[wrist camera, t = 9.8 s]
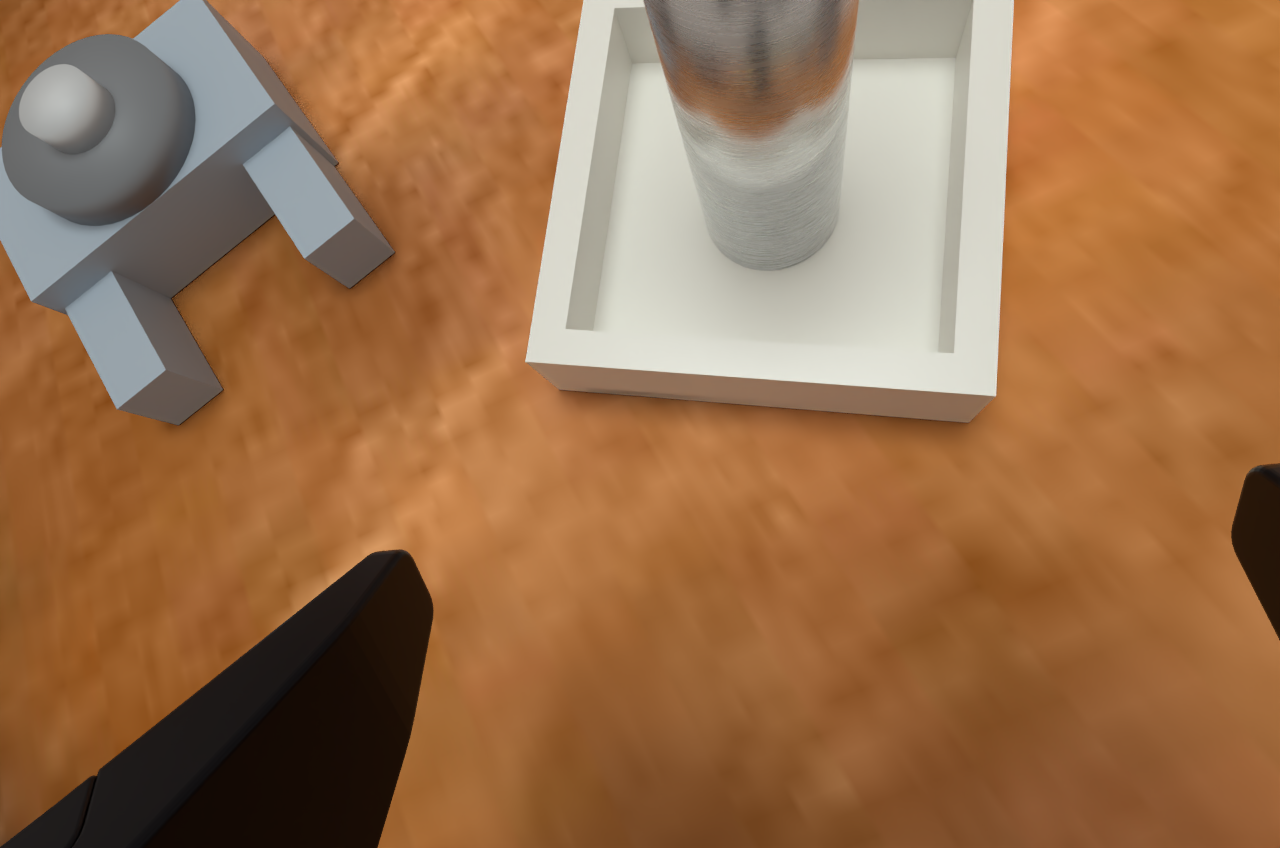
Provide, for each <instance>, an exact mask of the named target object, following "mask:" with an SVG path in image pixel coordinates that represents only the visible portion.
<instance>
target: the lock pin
mask: <svg viewBox="0 0 1280 848" xmlns="http://www.w3.org/2000/svg"><path fill="white" fill-rule="evenodd" d="M643 1H644V5H645V9H646V12H647V16H648V19H649V23H650V26H651V30H652V34H653V37H654V41H655V44H656V48H657V51H658V55H659V59H660V62H661V66H662V69H663V73H664V76H665V80H666V83H667V87H668V91H669V94H670V98H671V101H672V105H673V108H674V112H675V116H676V119H677V123H678V126H679V130H680V133H681V137H682V141H683V144H684V148H685V151H686V155H687V158H688V162H689V165H690V169H691V173H692V176H693V180H694V183H695V187H696V190H697V194H698V198H699V201H700V205H701V208H702V212H703V215H704V219H705V222H706V226H707V229H708V232H709V235H710V237H711V239H712V241H713V243H714V244H715V245H716V247H717V248H718V249H719V250H720V251H721V253H722V254H723V255H725V256H726V257H727V258H729V259H730V260H731V261H733V262H735V263H737V264H739V265H741V266H744V267H746V268H750V269H754V270H761V271H774V270H781V269H786V268H790V267H792V266H795V265H798V264H800V263H802V262H804V261H806V260H807V259H809V258H810V257H812V256H813V255H814V254H815V253H817V252H818V251H819V250H820V249H821V248H822V247H823V246H824V245H825V243H826V242H827V241H828V239H829V238H830V236H831V235H832V233H833V231H834V229H835V226H836V223H837V220H838V215H839V209H840V198H841V187H842V177H843V166H844V155H845V144H846V133H847V123H848V112H849V101H850V90H851V80H852V69H853V58H854V47H855V37H856V26H857V15H858V4H859V0H643Z"/></svg>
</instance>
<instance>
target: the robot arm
mask: <svg viewBox="0 0 1280 848" xmlns="http://www.w3.org/2000/svg"><path fill="white" fill-rule="evenodd" d="M1231 538H1232V544H1233V547H1234V551H1235V553H1236V555H1237V557H1238V559H1239V561H1240V563H1241V565H1242V567H1243V569H1244V571H1245V573H1246V575H1247V577H1248V579H1249V581H1250V583H1251V585H1252V587H1253V589H1254V591H1255V593H1256V595H1257V597H1258V599H1259V600H1260V602H1261V604H1262V606H1263V608H1264V610H1265V612H1266V614H1267V616H1268V618H1269V620H1270V622H1271V624H1272V626H1273V628H1274V630H1275V632H1276V634H1277V636H1278V638H1279V640H1280V463H1278V464H1267V465H1259V466H1257V467H1254V468H1252V469H1251V470H1250V471H1249V472H1248V474H1247V475H1246V478H1245V480H1244V484H1243V488H1242V491H1241V495H1240V499H1239V503H1238V506H1237V510H1236V514H1235V518H1234V521H1233V525H1232V531H1231ZM432 621H433V603H432V599H431V596H430V594H429V591H428V589H427V587H426V585H425V583H424V581H423V579H422V577H421V574H420V572H419V570H418V568H417V566H416V564H415V562H414V559H413V558H412V556H411V555H410V554H409V553H408V552H407V551H405V550H389V551H379V552H374V553H372V554H370V555H368V556H367V557H366V558H365V559H363V560H362V561H361V562H360V563H358V564H357V565H356V566H355V567H353V568H352V569H351V570H350V571H348V572H347V573H346V574H345V575H343V576H342V577H341V578H340V579H338V580H337V581H336V582H334V583H333V584H332V585H331V586H329V587H328V588H327V589H326V590H324V591H323V592H322V593H321V594H319V595H318V596H317V597H316V598H314V599H313V600H312V601H311V602H309V603H308V604H307V605H306V606H304V607H303V608H302V609H301V610H299V611H298V612H297V613H296V614H294V615H293V616H292V617H290V618H289V619H288V620H287V621H285V622H284V623H283V624H282V625H280V626H279V627H278V628H277V629H275V630H274V631H273V632H272V633H270V634H269V635H268V636H267V637H265V638H264V639H263V640H262V641H260V642H259V643H258V644H257V645H255V646H254V647H253V648H252V649H250V650H249V651H248V652H246V653H245V654H244V655H243V656H241V657H240V658H239V659H238V660H236V661H235V662H234V663H233V664H231V665H230V666H229V667H228V668H226V669H225V670H224V671H223V672H221V673H220V674H219V675H218V676H216V677H215V678H214V679H213V680H211V681H210V682H209V683H208V684H206V685H205V686H204V687H202V688H201V689H200V690H199V691H197V692H196V693H195V694H194V695H192V696H191V697H190V698H189V699H187V700H186V701H185V702H184V703H182V704H181V705H180V706H179V707H177V708H176V709H175V710H174V711H172V712H171V713H170V714H169V715H167V716H166V717H165V718H164V719H162V720H161V721H160V722H158V723H157V724H156V725H155V726H153V727H152V728H151V729H150V730H148V731H147V732H146V733H145V734H143V735H142V736H141V737H140V738H138V739H137V740H136V741H135V742H133V743H132V744H131V745H130V746H128V747H127V748H126V749H125V750H123V751H122V752H121V753H120V754H118V755H117V756H116V757H114V758H113V759H112V760H111V761H109V762H108V763H107V764H106V765H104V766H103V767H102V768H101V769H100V770H99V772H98V774H97V776H91V777H89V778H88V779H87V780H85V781H84V782H83V783H82V784H80V785H79V786H78V787H77V788H75V789H74V790H73V791H72V792H70V793H69V794H68V795H67V796H65V797H64V798H63V799H62V800H60V801H59V802H58V803H57V804H55V805H54V806H53V807H52V808H50V809H49V810H48V811H46V812H45V813H44V814H42V815H41V816H40V817H39V818H37V819H36V820H35V821H33V822H32V823H31V824H30V825H28V826H27V827H26V828H24V829H23V830H22V831H21V832H19V833H18V834H17V835H15V836H14V837H13V838H11V839H10V840H9V841H8V842H6V843H5V844H4V845H2V846H1V847H0V848H377V847H378V844H379V841H380V837H381V834H382V831H383V827H384V824H385V821H386V817H387V814H388V811H389V807H390V804H391V800H392V797H393V794H394V790H395V787H396V784H397V780H398V777H399V774H400V770H401V767H402V764H403V760H404V757H405V754H406V750H407V746H408V743H409V739H410V735H411V731H412V726H413V722H414V717H415V712H416V707H417V701H418V696H419V691H420V685H421V680H422V674H423V669H424V664H425V658H426V653H427V648H428V642H429V637H430V632H431V626H432Z"/></svg>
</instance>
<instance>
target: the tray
mask: <svg viewBox="0 0 1280 848" xmlns="http://www.w3.org/2000/svg"><path fill="white" fill-rule="evenodd" d="M1013 8H1014V0H859V4H858V15H857V26H856V37H855V47H854V58H853V69H852V80H851V90H850V101H849V112H848V123H847V133H846V144H845V155H844V166H843V177H842V187H841V198H840V209H839V215H838V220H837V223H836V226H835V229H834V231H833V233H832V235H831V236H830V238H829V239H828V241H827V242H826V243H825V245H824V246H823V247H822V248H821V249H820V250H819V251H818V252H817V253H815V254H814V255H813V256H812V257H810V258H809V259H807V260H806V261H804V262H802V263H800V264H798V265H795V266H792V267H790V268H786V269H781V270H774V271H761V270H754V269H750V268H746V267H744V266H741V265H739V264H737V263H735V262H733V261H731V260H730V259H729V258H727V257H726V256H725V255H723V254H722V253H721V251H720V250H719V249H718V248H717V247H716V245H715V244H714V243H713V241H712V239H711V237H710V235H709V232H708V229H707V226H706V222H705V219H704V215H703V212H702V208H701V205H700V201H699V198H698V194H697V190H696V187H695V183H694V180H693V176H692V173H691V169H690V165H689V162H688V158H687V155H686V151H685V148H684V144H683V141H682V137H681V133H680V130H679V126H678V123H677V119H676V116H675V112H674V108H673V105H672V101H671V98H670V94H669V91H668V87H667V83H666V80H665V76H664V73H663V69H662V66H661V62H660V59H659V55H658V51H657V48H656V44H655V41H654V37H653V34H652V30H651V26H650V23H649V19H648V16H647V12H646V9H645V5H644V1H643V0H584V2H583V8H582V14H581V20H580V26H579V33H578V39H577V45H576V51H575V57H574V64H573V70H572V76H571V82H570V88H569V95H568V101H567V107H566V113H565V119H564V126H563V132H562V138H561V144H560V150H559V157H558V163H557V169H556V175H555V181H554V188H553V194H552V200H551V206H550V212H549V219H548V225H547V231H546V237H545V243H544V250H543V256H542V262H541V268H540V274H539V281H538V287H537V293H536V299H535V305H534V312H533V318H532V324H531V330H530V337H529V343H528V349H527V355H526V361H525V362H526V363H528V364H529V365H530V366H531V367H532V368H534V369H535V370H536V371H537V372H538V373H540V374H541V375H542V376H543V377H544V378H546V379H547V380H548V381H549V382H550V383H552V384H553V385H554V386H555V387H557V388H558V389H559V390H568V391H581V392H593V393H606V394H618V395H630V396H643V397H655V398H667V399H680V400H692V401H705V402H717V403H729V404H742V405H754V406H766V407H779V408H791V409H804V410H816V411H828V412H841V413H853V414H865V415H878V416H890V417H903V418H915V419H927V420H940V421H952V422H964V423H969V422H970V421H971V420H972V419H973V418H974V417H975V416H976V415H977V414H978V413H979V412H980V411H981V410H982V409H983V408H984V407H985V406H986V405H987V404H988V403H989V402H991V401H992V400H993V399H994V398H995V397H996V385H997V363H998V341H999V318H1000V296H1001V274H1002V252H1003V230H1004V208H1005V185H1006V163H1007V141H1008V119H1009V97H1010V75H1011V53H1012V30H1013Z"/></svg>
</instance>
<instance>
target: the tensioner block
mask: <svg viewBox="0 0 1280 848" xmlns="http://www.w3.org/2000/svg"><path fill="white" fill-rule="evenodd" d="M336 164H338V161H337V160H336V159H335V157H334V156H333V154H332V153H331V151H330V150H329V149H328V147H327V146H326V144H325V143H324V142H323V140H322V139H321V137H320V136H319V135H318V133H317V132H316V130H315V129H314V128H313V126H312V125H311V123H310V122H309V120H308V119H307V118H306V116H305V115H304V113H303V112H302V111H301V109H300V108H299V106H298V105H297V104H296V102H295V101H294V99H293V98H292V97H291V95H290V94H289V92H288V91H287V90H286V88H285V87H284V85H283V84H282V82H281V81H280V80H279V78H278V77H277V75H276V74H275V73H274V71H273V70H272V68H271V67H270V66H269V64H268V63H267V61H266V60H265V59H264V57H263V56H262V55H261V54H260V53H259V52H258V51H257V50H256V49H255V48H254V47H253V46H252V45H251V44H250V43H249V42H248V41H247V40H246V39H245V38H244V37H243V36H242V35H241V34H240V33H239V32H238V31H237V30H236V29H235V28H234V27H233V26H232V25H231V24H230V23H229V22H228V21H226V20H225V19H224V18H223V17H222V16H221V15H220V14H219V13H218V12H217V11H216V10H215V9H214V8H213V7H212V6H211V5H210V4H209V3H208V2H207V1H206V0H180V1H179V2H178V3H176V4H175V5H174V6H173V7H171V8H170V9H169V10H168V11H167V12H165V13H164V14H163V15H162V16H160V17H159V18H158V19H157V20H156V21H154V22H153V23H152V24H151V25H150V26H148V27H147V28H146V29H145V30H143V31H142V32H141V33H140V34H139V35H137V36H136V37H135V38H134V39H131V38H129V37H125V36H121V35H112V34H105V35H96V36H91V37H87V38H84V39H81V40H78V41H76V42H74V43H71V44H69V45H67V46H65V47H64V48H62V49H60V50H59V51H57V52H56V53H54V54H53V55H52V56H50V57H49V58H48V59H47V60H45V61H44V62H43V63H42V64H41V65H40V66H39V67H38V68H37V69H36V70H35V71H34V72H33V73H32V74H31V75H30V77H29V78H28V79H27V81H26V82H25V83H24V85H23V86H22V88H21V89H20V91H19V92H18V94H17V96H16V97H15V99H14V101H13V103H12V105H11V108H10V110H9V113H8V116H7V118H6V122H5V126H4V130H3V137H2V147H1V148H0V240H1V242H2V244H3V246H4V248H5V250H6V252H7V254H8V256H9V258H10V260H11V262H12V264H13V266H14V268H15V270H16V272H17V274H18V276H19V278H20V280H21V282H22V284H23V286H24V288H25V290H26V292H27V294H28V296H29V298H30V300H31V301H32V302H34V303H37V304H40V305H42V306H45V307H48V308H50V309H53V310H56V311H58V312H61V313H64V314H66V315H68V316H69V317H70V319H71V321H72V323H73V325H74V327H75V329H76V331H77V333H78V335H79V337H80V339H81V341H82V343H83V345H84V346H85V348H86V350H87V352H88V354H89V356H90V358H91V360H92V362H93V364H94V366H95V368H96V370H97V372H98V373H99V375H100V377H101V379H102V381H103V383H104V385H105V387H106V389H107V391H108V393H109V395H110V397H111V399H112V401H113V402H114V404H115V406H116V408H117V409H118V410H122V411H126V412H129V413H133V414H137V415H141V416H145V417H148V418H152V419H156V420H160V421H164V422H167V423H171V424H175V425H180V424H181V423H182V422H183V421H185V420H186V419H187V418H188V417H190V416H191V415H192V414H193V413H195V412H196V411H197V410H198V409H200V408H201V407H202V406H203V405H205V404H206V403H207V402H208V401H210V400H211V399H212V398H213V397H215V396H216V395H217V394H218V393H220V392H221V391H222V390H223V389H222V387H221V385H220V383H219V382H218V380H217V378H216V376H215V375H214V373H213V371H212V369H211V368H210V366H209V364H208V362H207V361H206V359H205V357H204V355H203V354H202V352H201V350H200V349H199V347H198V345H197V343H196V342H195V340H194V338H193V336H192V335H191V333H190V331H189V329H188V328H187V326H186V324H185V322H184V321H183V319H182V317H181V315H180V314H179V312H178V310H177V308H176V307H175V305H174V303H173V302H172V300H171V298H172V297H173V296H174V295H175V294H176V293H178V292H179V291H180V290H181V289H183V288H184V287H185V286H186V285H188V284H189V283H190V282H191V281H193V280H194V279H195V278H196V277H198V276H199V275H200V274H201V273H203V272H204V271H205V270H206V269H207V268H209V267H210V266H211V265H212V264H214V263H215V262H216V261H217V260H219V259H220V258H221V257H222V256H224V255H225V254H226V253H227V252H229V251H230V250H231V249H232V248H234V247H235V246H236V245H237V244H238V243H240V242H241V241H242V240H243V239H245V238H246V237H247V236H248V235H250V234H251V233H252V232H253V231H255V230H256V229H257V228H258V227H260V226H261V225H262V224H263V223H265V222H266V221H267V220H268V219H269V218H271V217H272V216H273V215H274V214H275V215H276V216H277V218H278V219H279V221H280V222H281V224H282V225H283V227H284V228H285V230H286V231H287V233H288V234H289V236H290V237H291V239H292V240H293V242H294V243H295V245H296V247H297V248H298V250H299V251H300V253H301V254H302V256H303V257H304V259H306V260H307V261H309V262H310V263H312V264H313V265H315V266H316V267H318V268H319V269H321V270H322V271H324V272H325V273H327V274H328V275H330V276H331V277H333V278H334V279H336V280H337V281H339V282H340V283H342V284H343V285H345V286H346V287H348V288H349V289H350V288H351V287H352V286H353V285H355V284H356V283H357V282H358V281H360V280H361V279H362V278H363V277H365V276H366V275H367V274H368V273H370V272H371V271H372V270H373V269H375V268H376V267H377V266H378V265H380V264H381V263H382V262H383V261H385V260H386V259H387V258H388V257H390V256H391V255H392V254H393V253H395V252H394V250H393V249H392V247H391V246H390V245H389V243H388V242H387V240H386V239H385V238H384V236H383V235H382V233H381V232H380V230H379V229H378V228H377V226H376V225H375V223H374V222H373V221H372V219H371V218H370V216H369V215H368V213H367V212H366V211H365V209H364V208H363V206H362V205H361V204H360V202H359V201H358V199H357V198H356V196H355V195H354V194H353V192H352V191H351V189H350V188H349V187H348V185H347V184H346V182H345V181H344V179H343V178H342V177H341V175H340V174H339V172H338V171H337V170H336V168H335V167H334V166H335V165H336Z"/></svg>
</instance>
